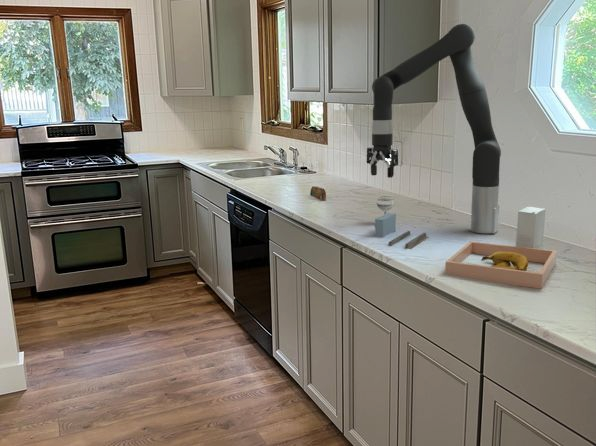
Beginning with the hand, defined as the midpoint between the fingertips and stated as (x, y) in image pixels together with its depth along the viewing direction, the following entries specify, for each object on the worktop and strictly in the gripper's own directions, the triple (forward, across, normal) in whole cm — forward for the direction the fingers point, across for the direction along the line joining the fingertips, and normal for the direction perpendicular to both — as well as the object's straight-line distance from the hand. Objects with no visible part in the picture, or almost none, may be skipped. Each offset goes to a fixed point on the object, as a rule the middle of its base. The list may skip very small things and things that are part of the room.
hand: (381, 176), depth 213 cm
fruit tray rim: (+22, -57, +7) cm, 61 cm away
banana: (+22, -58, +9) cm, 63 cm away
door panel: (+22, -6, +4) cm, 23 cm away
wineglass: (+22, +4, -6) cm, 23 cm away
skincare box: (+22, -53, -14) cm, 59 cm away
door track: (+22, -19, +6) cm, 29 cm away
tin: (+22, +62, -18) cm, 68 cm away
